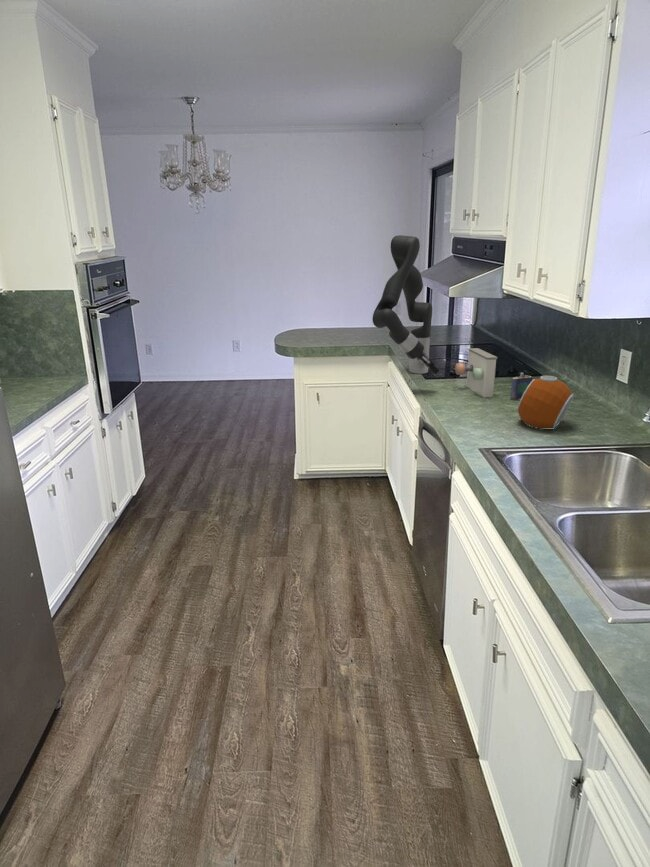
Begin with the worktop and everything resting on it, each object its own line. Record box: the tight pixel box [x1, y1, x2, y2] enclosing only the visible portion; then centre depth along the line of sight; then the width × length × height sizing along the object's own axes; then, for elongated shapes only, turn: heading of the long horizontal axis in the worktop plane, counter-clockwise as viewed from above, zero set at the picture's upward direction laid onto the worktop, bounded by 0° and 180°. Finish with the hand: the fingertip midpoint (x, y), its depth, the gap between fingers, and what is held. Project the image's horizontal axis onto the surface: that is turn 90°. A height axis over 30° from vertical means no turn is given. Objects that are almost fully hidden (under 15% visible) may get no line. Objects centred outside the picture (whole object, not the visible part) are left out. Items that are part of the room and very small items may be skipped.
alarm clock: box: [516, 375, 575, 429], centre depth 206 cm, size 19×18×17 cm
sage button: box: [472, 368, 483, 380], centre depth 242 cm, size 5×8×5 cm, turn 100°
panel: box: [465, 347, 498, 398], centre depth 247 cm, size 19×4×17 cm, turn 10°
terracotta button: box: [454, 362, 473, 376], centre depth 250 cm, size 5×8×5 cm, turn 100°
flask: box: [509, 372, 533, 400], centre depth 238 cm, size 9×3×11 cm, turn 109°
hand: (436, 372), depth 247 cm, fingers closed
